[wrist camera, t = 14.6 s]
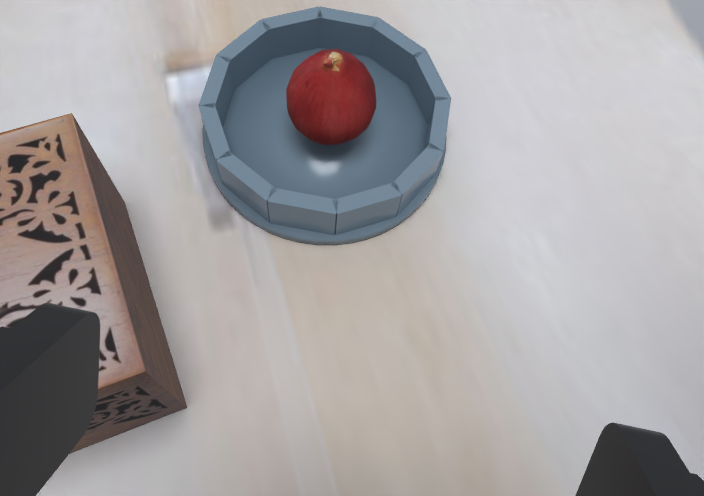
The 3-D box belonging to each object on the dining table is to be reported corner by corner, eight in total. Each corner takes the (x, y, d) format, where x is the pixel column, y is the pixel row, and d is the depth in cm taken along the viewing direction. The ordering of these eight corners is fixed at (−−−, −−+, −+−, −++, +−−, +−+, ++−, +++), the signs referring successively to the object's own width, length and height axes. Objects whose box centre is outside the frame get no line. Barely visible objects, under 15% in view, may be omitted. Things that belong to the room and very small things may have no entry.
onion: (286, 98, 43) (282, 14, 36) (366, 97, 44) (378, 13, 36) (289, 169, 41) (285, 93, 34) (373, 166, 41) (388, 91, 34)
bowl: (455, 66, 47) (467, 28, 43) (428, 266, 40) (440, 241, 36) (239, 26, 47) (233, -15, 43) (174, 218, 40) (160, 188, 36)
